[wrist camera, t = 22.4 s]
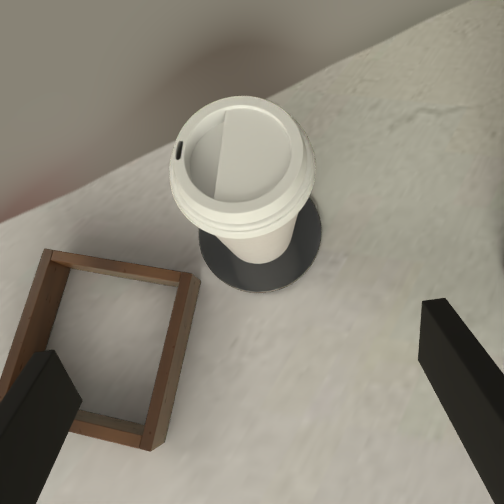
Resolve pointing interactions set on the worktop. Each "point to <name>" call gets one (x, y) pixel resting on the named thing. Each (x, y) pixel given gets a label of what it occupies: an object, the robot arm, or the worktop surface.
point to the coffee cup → (243, 175)
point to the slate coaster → (272, 272)
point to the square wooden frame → (155, 429)
